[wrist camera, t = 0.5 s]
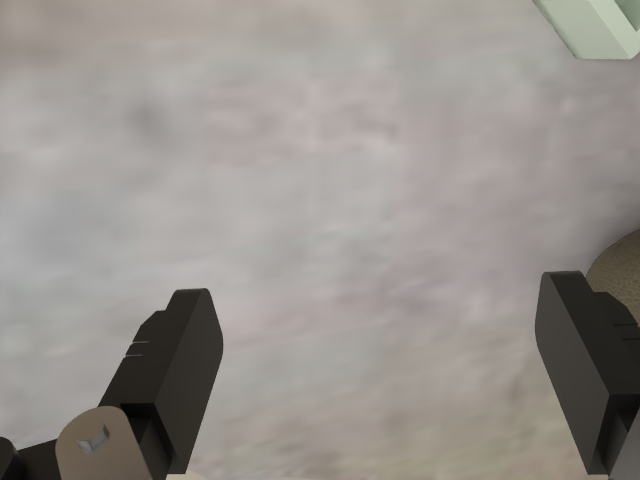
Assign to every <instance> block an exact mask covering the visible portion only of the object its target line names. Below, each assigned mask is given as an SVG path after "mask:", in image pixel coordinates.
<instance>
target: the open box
mask: <svg viewBox="0 0 640 480" xmlns="http://www.w3.org/2000/svg"><path fill="white" fill-rule="evenodd" d="M533 2H534V3H535V4H536V6H537V7H538V8H539V9H540V11H541V12H542V13H543V15H544V16H545V17H546V19H547V20H548V21H549V23H550V24H551V25H552V27H553V28H554V29H555V31H556V32H557V33H558V35H559V36H560V37H561V39H562V40H563V41H564V43H565V44H566V45H567V47H568V48H569V49H570V51H571V52H572V53H573V55H574V56H575V57H576V58H577V59H632V58H633V57H634V56H635V55H636V54H637V53H639V52H640V0H533Z"/></svg>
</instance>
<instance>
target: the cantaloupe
mask: <svg viewBox="0 0 640 480" xmlns="http://www.w3.org/2000/svg"><path fill="white" fill-rule="evenodd" d="M585 279H586V280H587V282H588V284H589V285H590V287H591V289H592V290H593V292H606V291H607V292H608V293H609V294H611V295H612V296H613V297H615V298H616V299H617V300H619V301H620V302H621V303H623V304H624V305H626V306H627V308H628V309H629V311H630V312H631V314H632V315H633V317H634V318H635V320H636V321H637V323H638V327H640V230H637V231H635V232H633V233H631V234H628V235H627V236H625V237H623V238H622V239H620V240H619V241H618V242H616V243H615V244H613V245H612V246H610V247H609V248H607V249H606V250H605V251H604V252H603V253H602V254H601V255H600V256H599V257H598V258H597V259H596V260H595V262H594V263H593V265H592V266H591V268H590V269H589V271H588V274H587V276H586V278H585Z"/></svg>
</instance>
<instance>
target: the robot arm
mask: <svg viewBox="0 0 640 480" xmlns="http://www.w3.org/2000/svg"><path fill="white" fill-rule="evenodd" d="M535 336H536V342H537V346H538V349H539V352H540V354H541V357H542V359H543V362H544V364H545V367H546V370H547V372H548V375H549V377H550V380H551V382H552V385H553V387H554V390H555V392H556V395H557V397H558V400H559V402H560V405H561V408H562V410H563V413H564V415H565V418H566V420H567V423H568V425H569V428H570V430H571V433H572V435H573V438H574V440H575V443H576V446H577V448H578V451H579V453H580V456H581V458H582V461H583V463H584V466H585V468H586V471H587V473H588V475H590V474H608V477H609V479H608V480H640V327H638V323H637V321H636V320H635V318H634V317H633V315H632V314H631V312H630V311H629V309H628V308H627V306H626V305H624V304H623V303H621V302H620V301H619V300H617V299H616V298H615V297H613V296H612V295H611V294H609V293H608V292H607V291H606V292H593V290H592V289H591V287H590V285H589V284H588V282H587V280H586V279H585V277H584V275H583V274H582V273H581V272H580V271H558V272H544V273H543V275H542V278H541V284H540V291H539V298H538V305H537V312H536V319H535ZM125 355H126V357H125V358H123V360H122V362H121V364H120V366H119V368H118V369H117V371H116V373H115V375H114V377H113V379H112V381H111V382H110V384H109V386H108V388H107V390H106V392H105V394H104V396H103V397H102V399H101V401H100V403H99V405H98V407H96V408H93V409H90V410H88V411H86V412H84V413H82V414H80V415H79V416H77V417H76V418H74V419H73V420H72V421H71V422H70V423H69V424H68V425H67V426H66V427H65V428H64V429H63V431H62V432H61V433H60V435H59V437H58V439H55V440H52V441H48V442H45V443H41V444H38V445H35V446H31V447H28V448H24V449H21V450H18V451H17V450H16V448H15V447H14V445H13V444H12V443H11V442H10V441H9V440H8V439H6V438H4V437H0V480H166V477H167V474H185V473H186V470H187V467H188V463H189V460H190V457H191V454H192V451H193V448H194V444H195V441H196V438H197V435H198V432H199V429H200V425H201V422H202V419H203V416H204V413H205V410H206V407H207V403H208V400H209V397H210V394H211V391H212V388H213V384H214V381H215V378H216V375H217V372H218V369H219V365H220V362H221V359H222V355H223V336H222V331H221V328H220V325H219V321H218V318H217V315H216V311H215V308H214V304H213V301H212V298H211V295H210V292H209V290H208V289H206V288H201V289H181V290H176V291H175V292H174V294H173V296H172V298H171V300H170V302H169V304H168V306H167V308H166V310H163V311H156V312H155V313H154V314H153V315H152V316H150V317H149V318H148V319H147V320H146V321H145V322H144V323H143V324H142V325H141V326H140V328H139V330H138V332H137V334H136V336H135V338H134V340H133V344H132V345H130V347H129V349H128V351H127V353H126V354H125Z"/></svg>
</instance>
